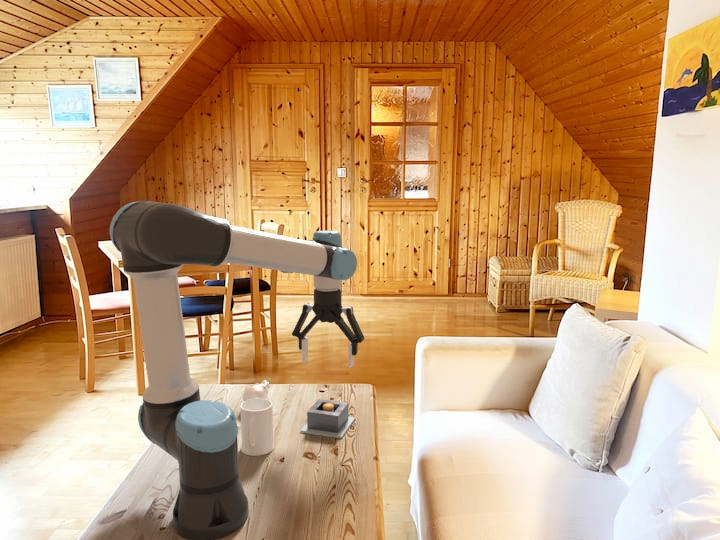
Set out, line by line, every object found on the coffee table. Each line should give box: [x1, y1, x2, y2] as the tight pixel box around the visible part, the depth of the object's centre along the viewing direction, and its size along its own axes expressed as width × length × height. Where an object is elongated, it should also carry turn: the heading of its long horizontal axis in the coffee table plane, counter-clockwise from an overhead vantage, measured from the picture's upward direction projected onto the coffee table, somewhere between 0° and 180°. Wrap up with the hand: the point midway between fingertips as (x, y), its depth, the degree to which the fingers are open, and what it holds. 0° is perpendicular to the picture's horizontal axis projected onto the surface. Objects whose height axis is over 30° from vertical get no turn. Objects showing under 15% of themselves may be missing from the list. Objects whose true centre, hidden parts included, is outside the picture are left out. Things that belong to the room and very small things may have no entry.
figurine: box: [242, 379, 271, 402], centre depth 168 cm, size 11×7×15 cm
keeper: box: [300, 403, 356, 439], centre depth 153 cm, size 12×12×6 cm
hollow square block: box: [306, 398, 349, 433], centre depth 153 cm, size 9×9×5 cm
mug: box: [239, 398, 275, 457], centre depth 139 cm, size 12×8×12 cm
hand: (327, 363), depth 151 cm, fingers open, 13 cm apart
